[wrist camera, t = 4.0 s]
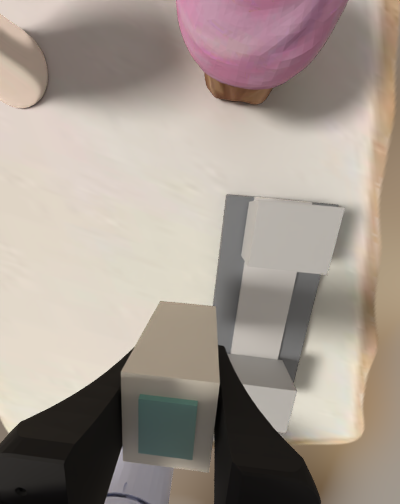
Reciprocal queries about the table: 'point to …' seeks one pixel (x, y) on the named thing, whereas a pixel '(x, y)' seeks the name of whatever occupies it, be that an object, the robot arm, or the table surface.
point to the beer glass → (20, 67)
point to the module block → (172, 389)
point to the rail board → (271, 291)
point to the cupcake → (254, 41)
